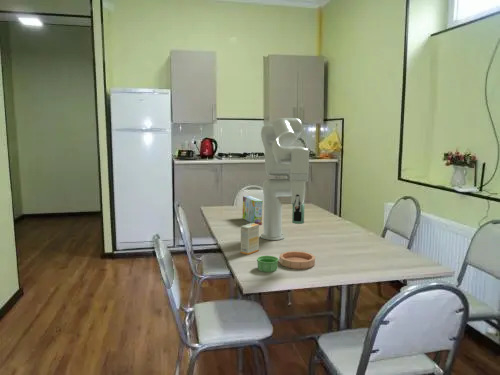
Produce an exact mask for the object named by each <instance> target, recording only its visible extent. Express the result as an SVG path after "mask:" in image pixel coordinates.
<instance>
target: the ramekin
mask: <svg viewBox="0 0 500 375" xmlns="http://www.w3.org/2000/svg"><path fill="white" fill-rule="evenodd" d="M256 261H257V262H256V263H257V269H258V271H260V272H264V273H273V272H276V271H277V270H278V267H279V266H278V265H279V264H278V263H279V258H278V257H276V256H273V255H261V256H258V257H257V258H256Z"/></svg>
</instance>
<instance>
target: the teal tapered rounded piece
mask: <svg viewBox="0 0 500 375" xmlns="http://www.w3.org/2000/svg"><path fill="white" fill-rule="evenodd" d="M299 204H300V203H299ZM294 206H295V202H294V204H293V205H292V214H291V215H292V218H291V223H292V224H295V225H296V224H297V225H302V224H304V223H305V203H303V204H302V205H301V212H302V216H301V221H294ZM299 207H300V206H299Z"/></svg>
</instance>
